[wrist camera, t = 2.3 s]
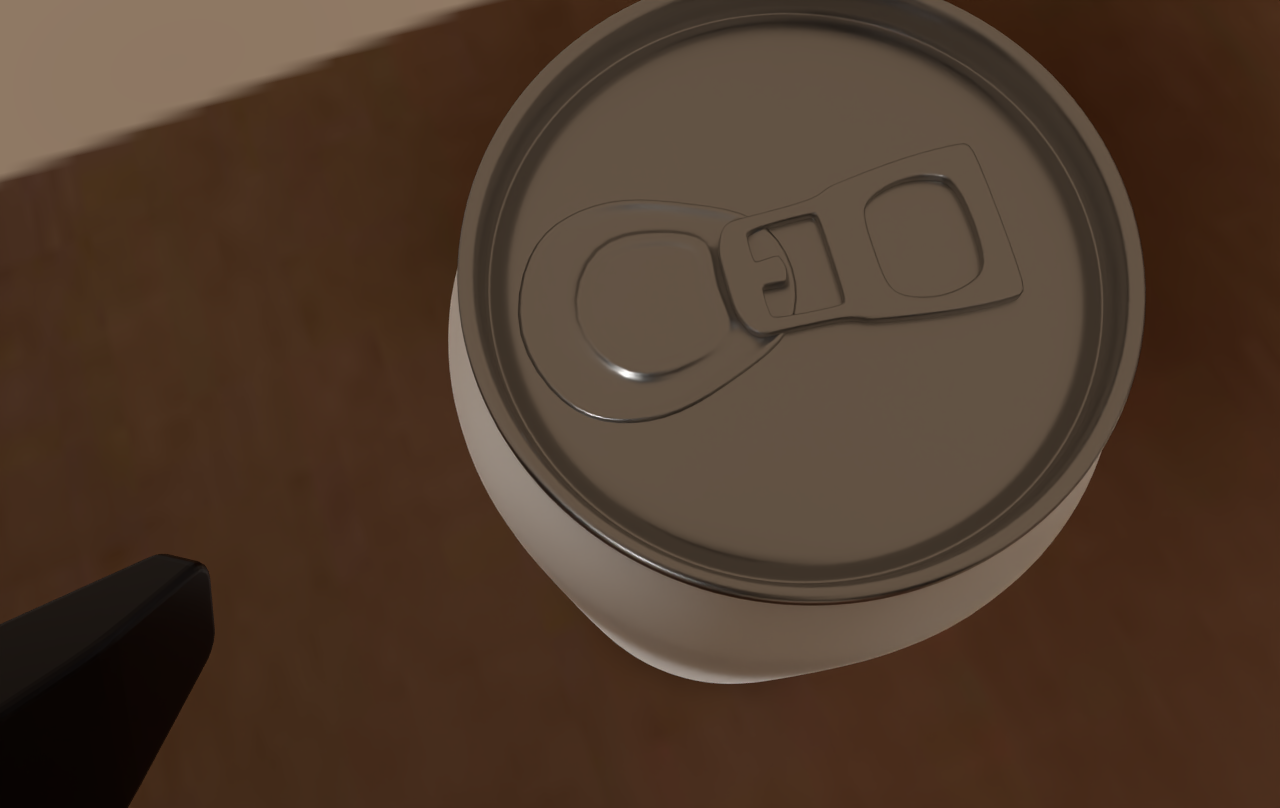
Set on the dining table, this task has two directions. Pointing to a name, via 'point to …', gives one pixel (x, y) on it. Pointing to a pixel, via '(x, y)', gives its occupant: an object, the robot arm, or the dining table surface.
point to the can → (791, 325)
